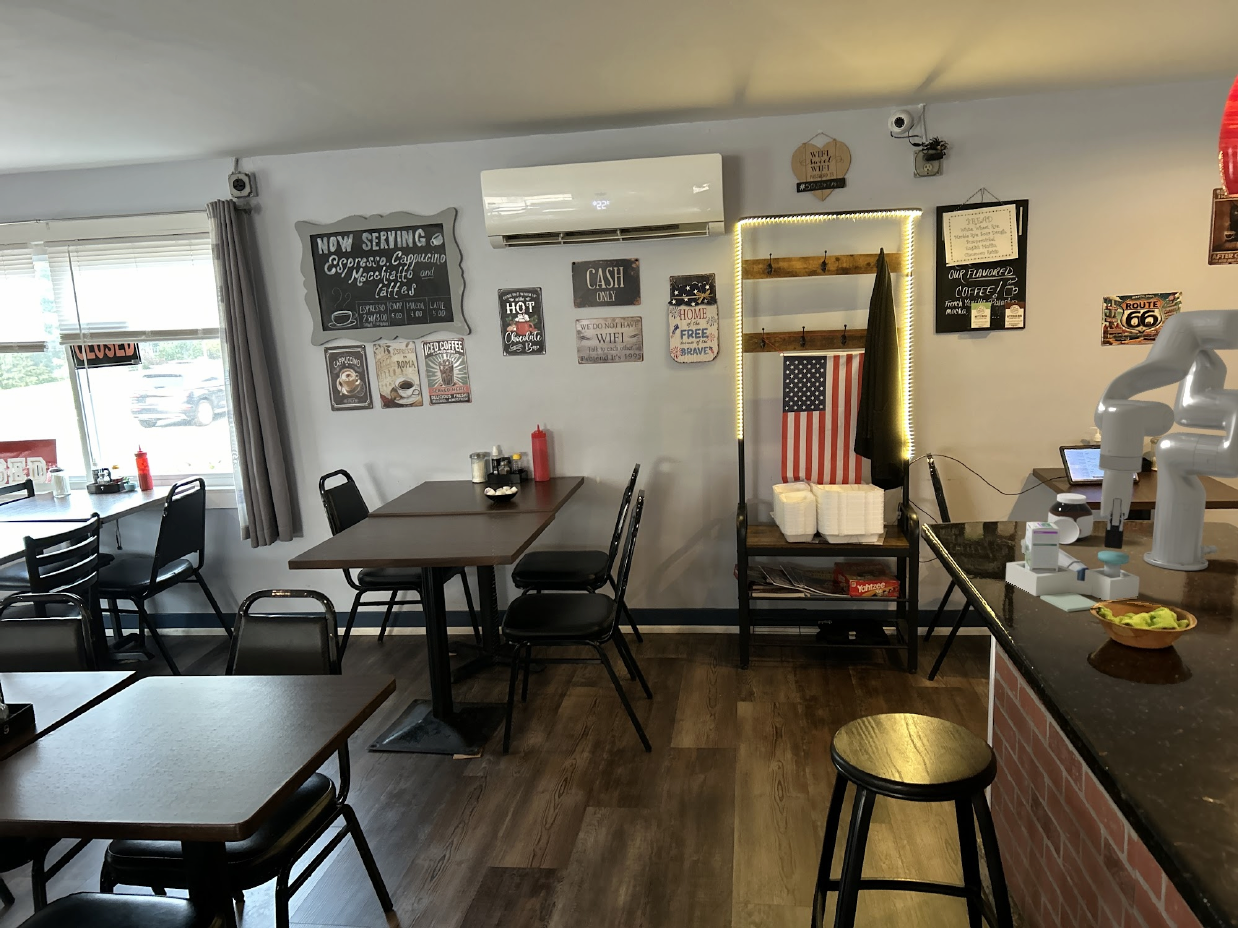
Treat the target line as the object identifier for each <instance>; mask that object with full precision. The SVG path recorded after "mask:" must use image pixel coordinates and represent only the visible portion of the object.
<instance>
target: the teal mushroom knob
mask: <svg viewBox="0 0 1238 928" xmlns="http://www.w3.org/2000/svg"><path fill="white" fill-rule="evenodd" d="M1097 560H1098V561H1100V562H1103V563H1104V567H1103V568H1104V576H1107V577H1109V578H1118V577H1120V573H1121V570H1122V569H1121V568H1122V565H1126V564H1128V563H1129V560H1130V555H1129V554H1127V553H1125V552H1122V551H1121V552H1120V551H1114V550H1103V551H1102V550H1101V551H1099V552H1098V553H1097Z"/></svg>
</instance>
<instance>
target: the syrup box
mask: <svg viewBox="0 0 1238 928" xmlns="http://www.w3.org/2000/svg"><path fill="white" fill-rule="evenodd" d="M1025 529H1026V530H1025V536H1026V548H1025V555H1024V561H1025V569H1027V570H1029V571H1032V572H1034V573H1036V574H1045V573H1055V572H1058V557H1059V549H1060V543H1059V532H1060V529H1059V528H1058V527H1057V526H1056V525H1055V524H1054V523H1052V522H1048V521H1026V528H1025Z"/></svg>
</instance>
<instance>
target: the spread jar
mask: <svg viewBox="0 0 1238 928" xmlns="http://www.w3.org/2000/svg"><path fill="white" fill-rule="evenodd" d="M1047 522H1052V523H1054V524H1055V525H1056V526H1057V527H1058V528H1059V529H1060V532H1059V544H1060V545H1061V544H1062V545H1069V544H1072V543H1074V542H1082V541H1083V540H1086V539H1088V538H1089V537H1090V536H1091V534H1092V531H1093V524H1094V514H1093V510H1092V509H1091V508H1090V506H1089V505H1088V504H1087V496H1086V495H1083V494H1079V493H1068V492H1063V493H1058V494H1057V495H1056V502H1054V503H1053V504H1052V505H1050V507H1049V510H1048V517H1047Z"/></svg>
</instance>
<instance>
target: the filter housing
mask: <svg viewBox="0 0 1238 928" xmlns="http://www.w3.org/2000/svg"><path fill="white" fill-rule="evenodd" d="M1089 569H1090V568H1089ZM1077 573H1078V572H1076V571H1074V570H1071V569H1069V568H1066V567H1064V566H1062V565H1059V564H1058V572H1055V573H1045V574H1036V573H1034V572H1032V571H1029V570H1027V569H1025V560H1022V561H1021V560H1020V561H1012V562H1006V568H1005V582H1006V581H1007V582H1006V583H1008V582H1009V583H1008V584H1010V583H1011V584H1010V585H1012V584H1013V585H1012V586H1014V585H1016V586H1017V587H1016V586H1015V587H1016V588H1018V587H1019V588H1018V589H1020V588H1021V590H1022V589H1023V590H1022V591H1024V590H1025V591H1024V592H1026V591H1027V592H1026V593H1028V592H1029V593H1028V594H1031V595H1033V596H1034V597H1040V596H1044V595H1053V594H1062V593H1071V592H1074V593H1076V594H1078V595H1086V596H1087V595H1088V596H1092V597H1094V598H1097V599H1099V598H1101V599H1100V600H1102V601H1104V600H1116V599H1123V598H1130V597H1135V596H1138V597H1139V587H1140V578H1141V577H1140V576H1138V575H1135V574H1133V573H1130V572H1128V571H1125V570H1122V569H1121V573H1120V577H1118V578H1109V577H1107V576H1104V567H1103V568H1102V567H1101V568H1091V569H1090V570H1085V581H1078V580H1077Z"/></svg>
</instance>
